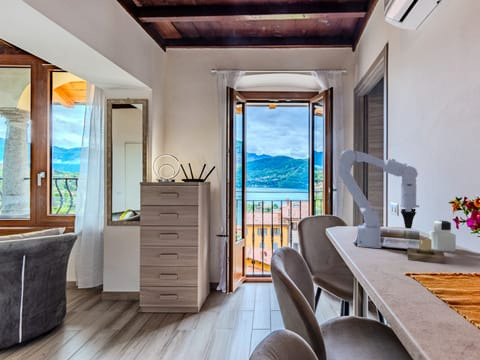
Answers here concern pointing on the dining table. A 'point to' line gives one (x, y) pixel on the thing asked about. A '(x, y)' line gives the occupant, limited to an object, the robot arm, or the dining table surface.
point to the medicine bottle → (443, 237)
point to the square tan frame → (426, 256)
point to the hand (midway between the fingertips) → (408, 226)
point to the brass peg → (425, 246)
